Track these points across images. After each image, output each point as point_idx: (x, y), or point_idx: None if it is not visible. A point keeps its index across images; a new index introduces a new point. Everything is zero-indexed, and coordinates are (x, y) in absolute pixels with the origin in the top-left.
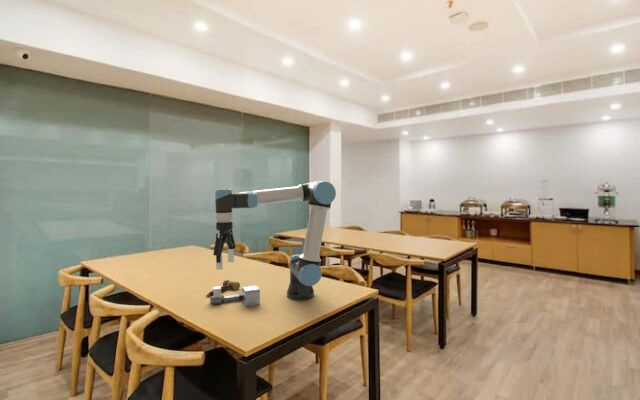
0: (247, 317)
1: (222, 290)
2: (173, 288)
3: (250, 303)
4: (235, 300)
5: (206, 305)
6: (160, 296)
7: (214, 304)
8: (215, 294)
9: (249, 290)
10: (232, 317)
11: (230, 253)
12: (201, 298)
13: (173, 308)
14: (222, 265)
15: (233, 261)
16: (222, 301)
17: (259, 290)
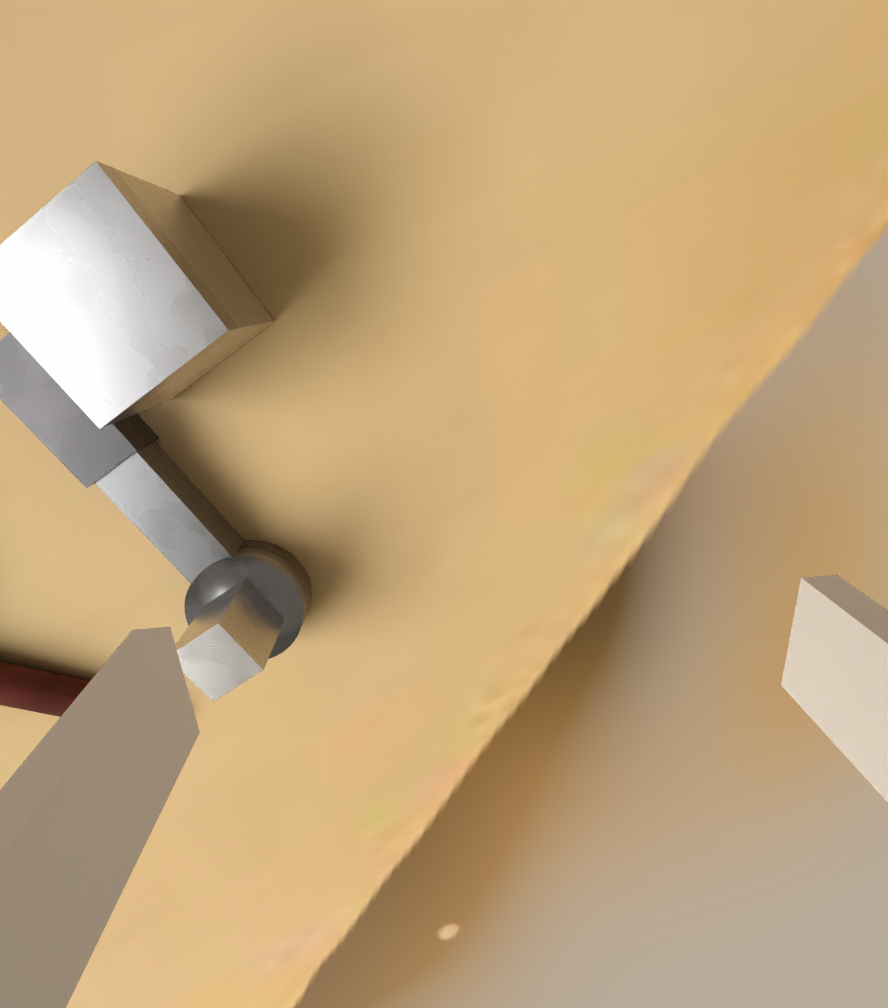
0: (496, 196)
1: (19, 668)
2: (111, 966)
3: (234, 278)
4: (175, 468)
5: (332, 633)
6: (269, 949)
7: (309, 587)
8: (269, 629)
9: (185, 287)
10: (515, 332)
11: (61, 889)
12: (216, 730)
13: (432, 789)
14: (874, 623)
15: (149, 636)
16: (260, 549)
17: (106, 167)
